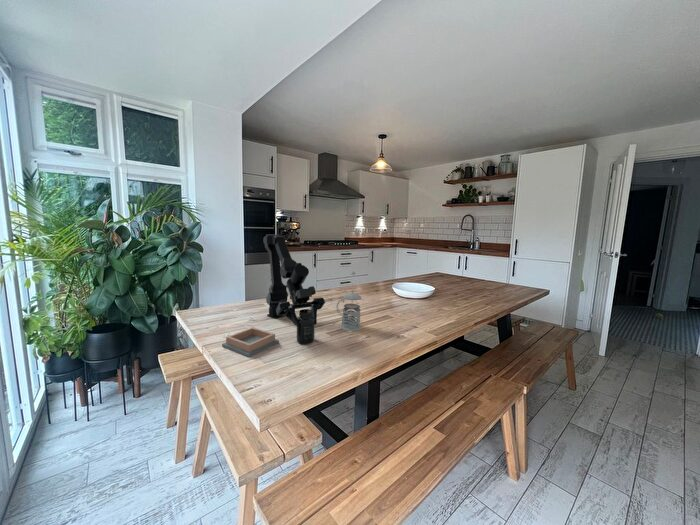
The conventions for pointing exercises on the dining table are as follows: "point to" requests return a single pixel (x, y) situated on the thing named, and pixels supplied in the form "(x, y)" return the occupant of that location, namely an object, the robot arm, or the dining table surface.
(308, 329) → the supplement bottle
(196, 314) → the dining table surface
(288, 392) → the dining table surface
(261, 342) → the dock
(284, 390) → the dining table surface
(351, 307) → the french press
